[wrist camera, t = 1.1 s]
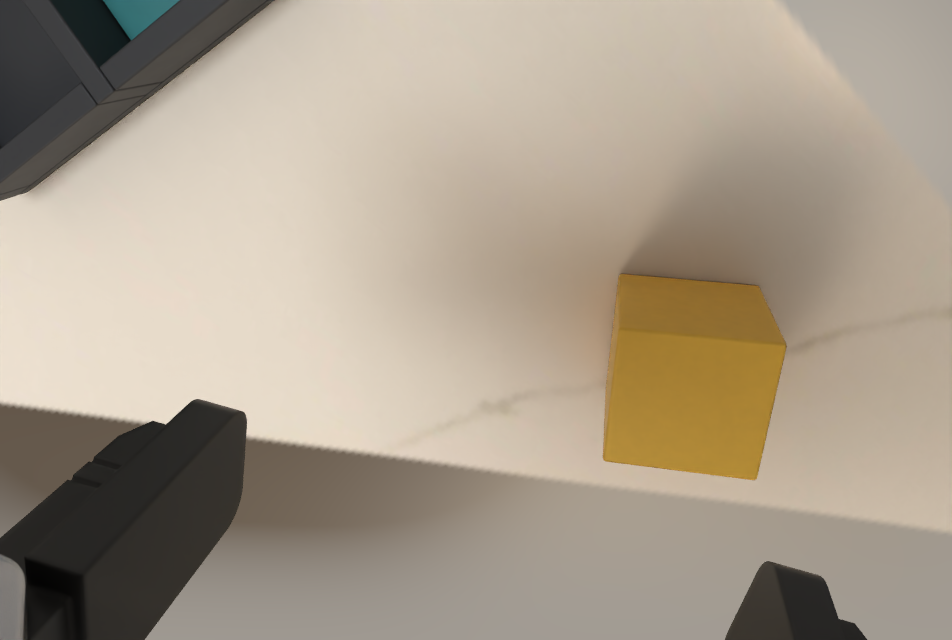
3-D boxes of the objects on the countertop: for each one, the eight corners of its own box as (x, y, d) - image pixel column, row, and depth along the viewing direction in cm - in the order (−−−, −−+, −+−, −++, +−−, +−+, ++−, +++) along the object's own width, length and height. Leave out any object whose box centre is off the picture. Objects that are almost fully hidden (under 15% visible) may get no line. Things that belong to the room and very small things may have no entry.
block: (759, 284, 23) (788, 344, 19) (735, 404, 25) (757, 482, 21) (618, 272, 24) (618, 327, 20) (605, 390, 26) (602, 462, 22)
